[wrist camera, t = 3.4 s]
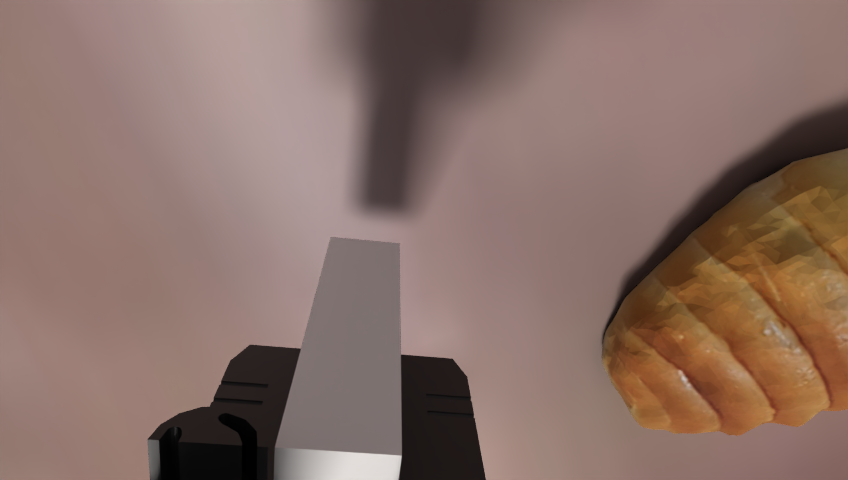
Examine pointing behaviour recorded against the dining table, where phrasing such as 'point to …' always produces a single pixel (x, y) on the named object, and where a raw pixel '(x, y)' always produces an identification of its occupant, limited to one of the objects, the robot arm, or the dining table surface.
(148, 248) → the dining table surface
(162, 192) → the dining table surface
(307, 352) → the robot arm
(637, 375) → the pastry
